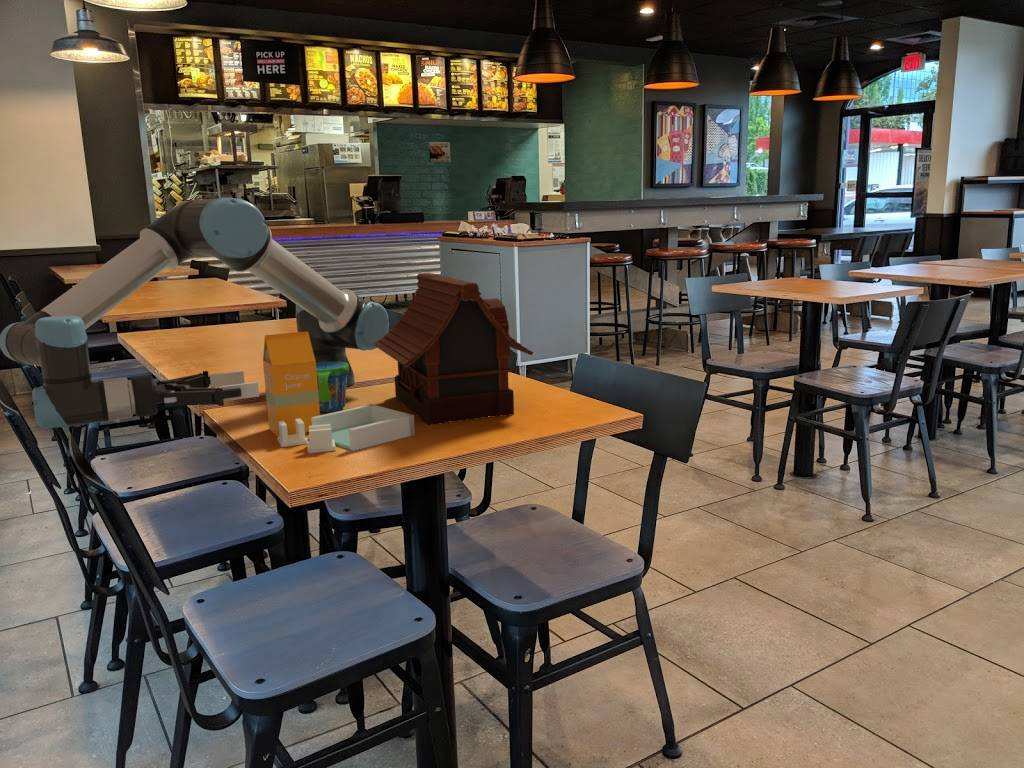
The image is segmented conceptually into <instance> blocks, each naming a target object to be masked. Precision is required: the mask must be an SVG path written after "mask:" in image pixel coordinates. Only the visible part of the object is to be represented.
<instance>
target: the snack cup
mask: <svg viewBox="0 0 1024 768" xmlns="http://www.w3.org/2000/svg"><path fill="white" fill-rule="evenodd" d="M316 371H317V384H318V393H319V409H320V413H333V412H338V411H342V410H343V409H344V408H345V406H346V399H347V396H346V395H347V387H346V386H347V373H348V372H349V365H348V363H345V362H319V363H316Z"/></svg>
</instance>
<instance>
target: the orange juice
mask: <svg viewBox="0 0 1024 768" xmlns="http://www.w3.org/2000/svg"><path fill="white" fill-rule="evenodd" d="M263 345H264V346H263V357H262V365H263V375H264V376H263V377H264V386H265V389H264V391H265V399H266V407H267V408H266V409H267V417H268V418H267V420H268V429H269V431H270V432H272V433H273V434H274V435H275V436H276V437H277V436H278V437H279V436H280V435H279V424H278V421H284V422H285V423H286V425H287V432H288V435H294V434H296V424H295V419H301V420H302V421H303V422H304V429H305V434H307V433H306V432H309V426H312V421H311V417H315V416H320V415H321V412H320V409H319V393H318V384H317V371H316V360H315V357H314V353H313V349H312V346H311V342H310V338H309V334H308V331H306V332H288V333H287V332H286V333H276V334H265V335H264V344H263Z"/></svg>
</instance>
